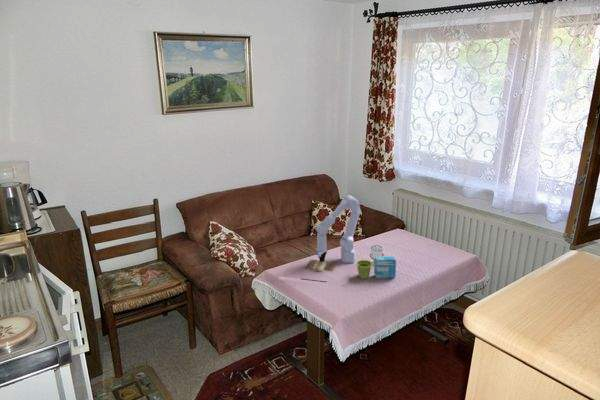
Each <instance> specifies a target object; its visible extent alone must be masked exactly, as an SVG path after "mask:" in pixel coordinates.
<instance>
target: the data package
mask: <svg viewBox="0 0 600 400" xmlns="http://www.w3.org/2000/svg"><path fill="white" fill-rule="evenodd" d="M373 263H374V264H373V265H374V268H373V269H374V270H373V271H374V272H373V273H374V276H375V278H377V279H393V278H396V276H397V275H396V274H397V273H396V272H397V271H396V270H397V261H396V258H395V257H394V256H375V258H374V262H373Z"/></svg>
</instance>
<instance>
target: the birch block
mask: <svg viewBox="0 0 600 400" xmlns="http://www.w3.org/2000/svg"><path fill="white" fill-rule="evenodd" d="M326 265H327V263H326V262H323V261H317V262H316V264H315V266H314V267H313V269H312V271H314V272H320V273H322V272H324V271H325V270H324V268H325V267H326Z"/></svg>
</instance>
